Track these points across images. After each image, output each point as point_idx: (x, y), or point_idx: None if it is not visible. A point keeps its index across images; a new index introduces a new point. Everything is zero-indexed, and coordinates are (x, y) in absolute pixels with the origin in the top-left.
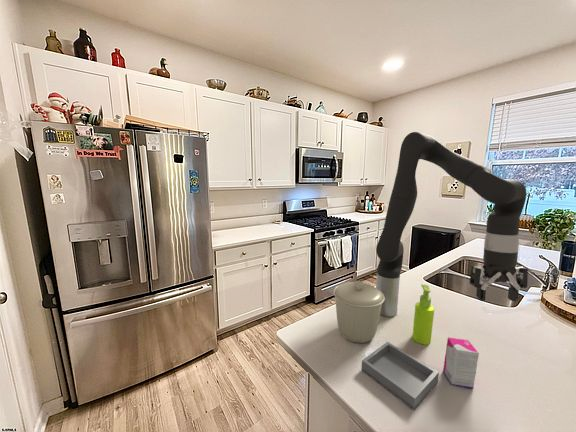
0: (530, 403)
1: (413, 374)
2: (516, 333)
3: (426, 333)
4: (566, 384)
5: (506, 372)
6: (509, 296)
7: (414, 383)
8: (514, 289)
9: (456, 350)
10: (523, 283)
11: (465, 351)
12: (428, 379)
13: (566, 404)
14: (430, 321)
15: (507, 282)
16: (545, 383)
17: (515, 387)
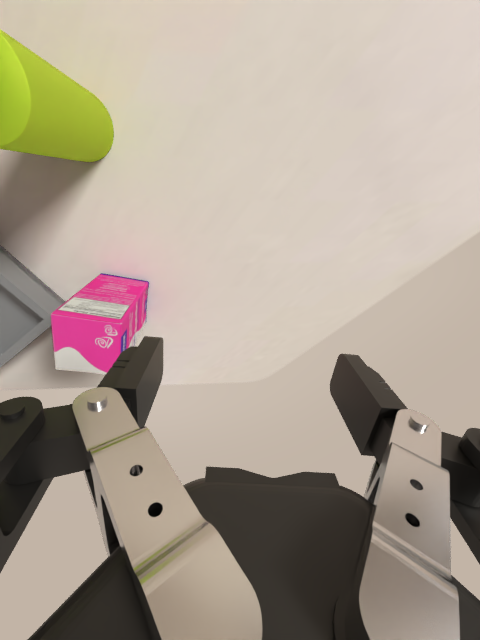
0: (237, 347)
1: (10, 295)
2: (473, 96)
3: (63, 158)
4: (359, 307)
5: (260, 277)
6: (344, 371)
7: (8, 320)
8: (371, 447)
9: (55, 368)
10: (458, 524)
11: (81, 371)
12: (22, 341)
13: (302, 347)
14: (45, 151)
15: (386, 448)
16: (317, 306)
17: (242, 316)
